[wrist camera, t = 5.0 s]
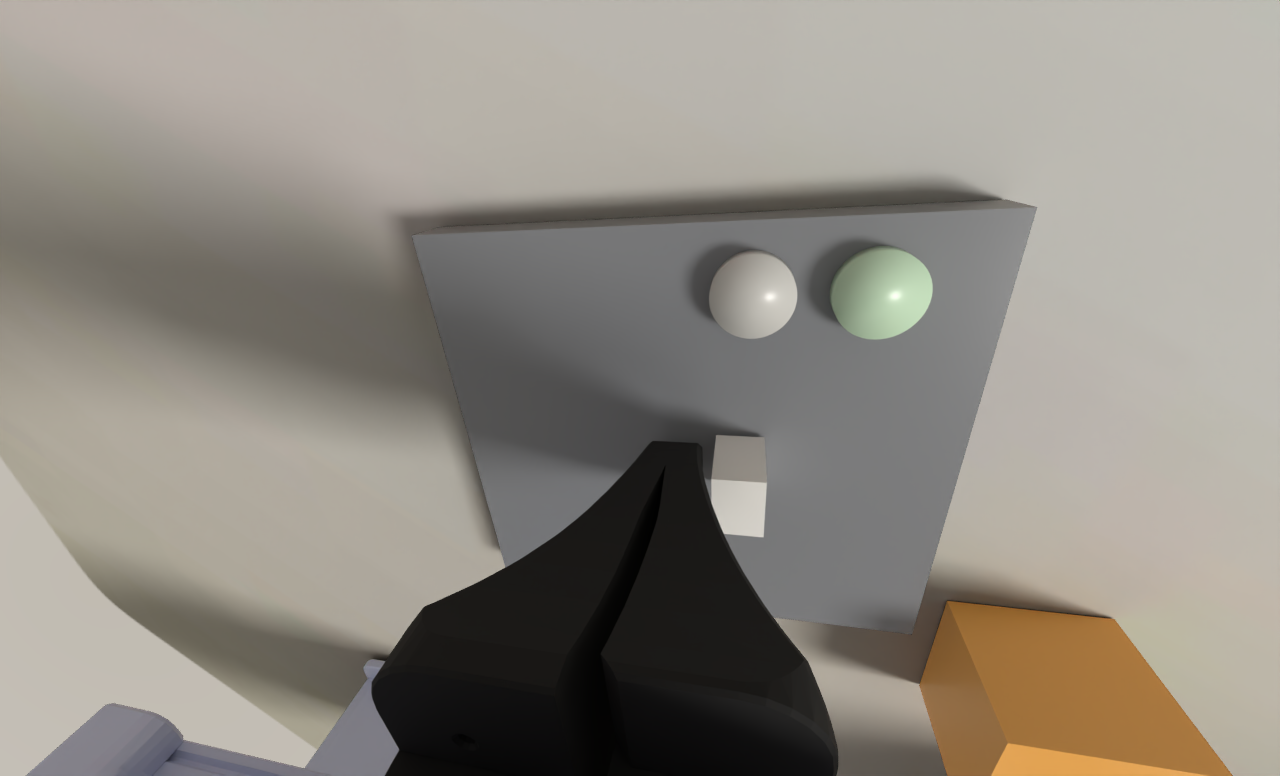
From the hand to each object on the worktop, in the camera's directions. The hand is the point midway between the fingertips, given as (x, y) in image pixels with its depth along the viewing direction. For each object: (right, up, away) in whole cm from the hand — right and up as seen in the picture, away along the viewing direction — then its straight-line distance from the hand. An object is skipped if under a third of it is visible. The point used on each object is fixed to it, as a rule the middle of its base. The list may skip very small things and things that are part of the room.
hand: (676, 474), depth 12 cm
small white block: (+2, 0, 0) cm, 2 cm away
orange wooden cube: (+11, -6, +3) cm, 13 cm away
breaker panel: (+1, +1, +2) cm, 2 cm away
